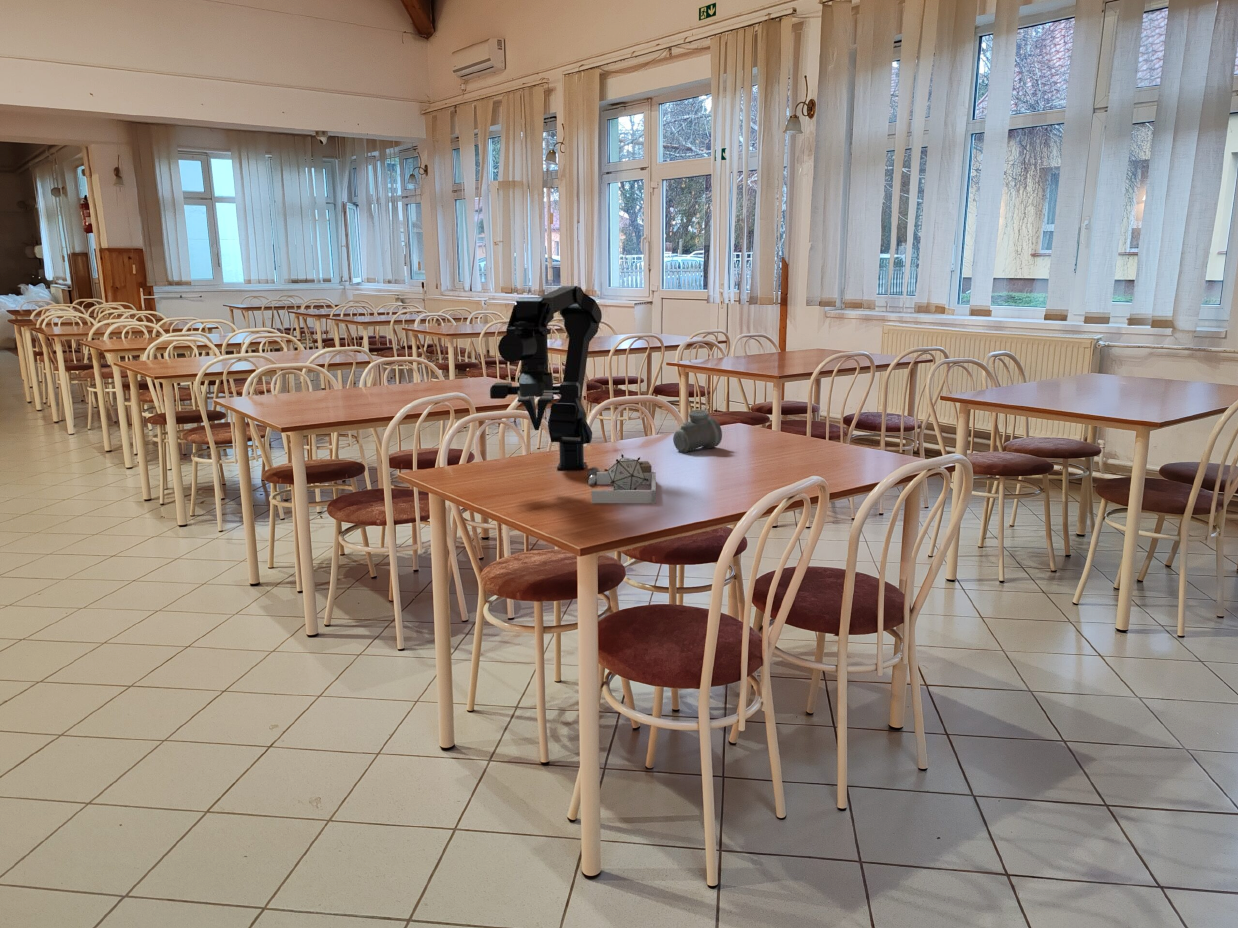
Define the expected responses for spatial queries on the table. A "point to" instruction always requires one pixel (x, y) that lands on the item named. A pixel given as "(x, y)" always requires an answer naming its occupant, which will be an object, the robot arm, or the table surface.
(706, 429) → the pipe fitting
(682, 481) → the table surface
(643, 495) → the tray
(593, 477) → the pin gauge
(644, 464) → the drilled block
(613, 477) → the game die
